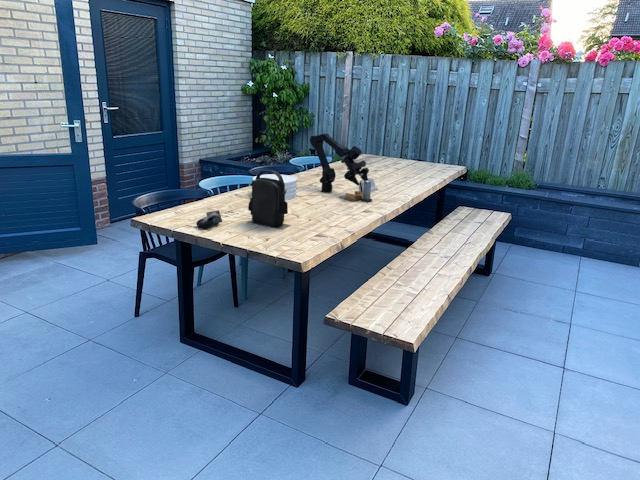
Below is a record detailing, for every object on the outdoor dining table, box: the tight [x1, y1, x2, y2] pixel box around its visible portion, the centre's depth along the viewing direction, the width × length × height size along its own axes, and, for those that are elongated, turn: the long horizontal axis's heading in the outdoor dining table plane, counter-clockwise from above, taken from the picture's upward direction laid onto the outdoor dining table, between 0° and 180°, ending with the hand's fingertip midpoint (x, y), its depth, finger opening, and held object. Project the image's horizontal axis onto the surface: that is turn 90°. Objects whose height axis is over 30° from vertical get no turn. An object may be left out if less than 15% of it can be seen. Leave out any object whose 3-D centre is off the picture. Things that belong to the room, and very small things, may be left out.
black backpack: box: [246, 169, 292, 230], centre depth 245 cm, size 23×9×28 cm, turn 60°
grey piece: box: [360, 180, 373, 203], centre depth 301 cm, size 5×5×13 cm
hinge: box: [358, 177, 379, 193], centre depth 331 cm, size 17×5×10 cm, turn 145°
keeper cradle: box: [338, 190, 363, 202], centre depth 310 cm, size 13×14×4 cm
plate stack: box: [252, 173, 298, 202], centre depth 307 cm, size 28×28×12 cm
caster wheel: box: [196, 209, 223, 230], centre depth 240 cm, size 7×11×10 cm
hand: (363, 184), depth 302 cm, fingers open, 9 cm apart
